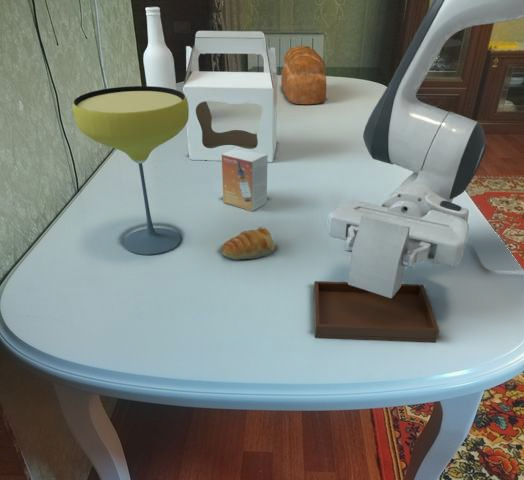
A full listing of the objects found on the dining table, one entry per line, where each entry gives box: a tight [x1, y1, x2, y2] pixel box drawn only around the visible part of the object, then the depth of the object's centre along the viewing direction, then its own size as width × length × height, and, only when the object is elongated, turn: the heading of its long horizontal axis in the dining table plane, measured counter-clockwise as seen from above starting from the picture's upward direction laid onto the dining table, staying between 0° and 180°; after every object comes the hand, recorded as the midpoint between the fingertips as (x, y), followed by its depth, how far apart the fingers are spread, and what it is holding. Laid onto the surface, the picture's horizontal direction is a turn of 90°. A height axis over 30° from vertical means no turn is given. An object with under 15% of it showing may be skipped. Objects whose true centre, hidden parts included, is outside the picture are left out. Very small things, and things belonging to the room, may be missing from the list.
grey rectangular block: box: [347, 215, 410, 298], centre depth 71 cm, size 4×7×10 cm, turn 56°
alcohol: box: [142, 6, 178, 90], centre depth 150 cm, size 9×9×30 cm
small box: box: [221, 148, 268, 212], centre depth 107 cm, size 8×6×10 cm
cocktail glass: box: [72, 85, 189, 256], centre depth 88 cm, size 18×18×25 cm
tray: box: [313, 280, 440, 343], centre depth 76 cm, size 17×12×2 cm
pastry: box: [221, 226, 276, 261], centre depth 92 cm, size 9×7×4 cm
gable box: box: [182, 30, 278, 163], centre depth 127 cm, size 22×13×28 cm, turn 85°
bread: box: [280, 45, 327, 105], centre depth 180 cm, size 14×26×16 cm, turn 5°
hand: (378, 254), depth 70 cm, fingers closed on grey rectangular block, 7 cm apart
